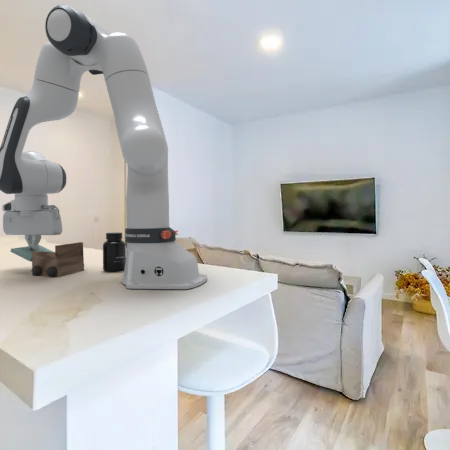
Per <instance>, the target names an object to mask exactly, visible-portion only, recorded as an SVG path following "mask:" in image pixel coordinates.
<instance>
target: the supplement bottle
mask: <svg viewBox="0 0 450 450" xmlns="http://www.w3.org/2000/svg"><path fill="white" fill-rule="evenodd" d="M105 239H106V241H104V242H103V243H102V270H103V272H105V273H121V272H124V269H125V261H126V249H127V248H126V244H125V240H122V239H123V232H106V233H105Z"/></svg>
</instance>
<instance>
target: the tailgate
mask: <svg viewBox="0 0 450 450" xmlns="http://www.w3.org/2000/svg"><path fill="white" fill-rule="evenodd" d="M34 251H38V252H54V251H53V250H51V249H50V248H49V249H48V248H47V247H44V246H43V245H41V244H38V249H36V250H30V249H28V246H22V247H21V246H20V247H13V248H11V249H10V253H12V254H15V255H16V256H18V257H20V258H22V259H24V260H26V261H28V262H31V263H32V252H34Z"/></svg>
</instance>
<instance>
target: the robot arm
mask: <svg viewBox="0 0 450 450" xmlns="http://www.w3.org/2000/svg"><path fill="white" fill-rule="evenodd" d="M44 30H45V35H46V37H47V40H48V41H47V42H45V43H43V44H42V46H41V49H40V51H39V54H38V58H37V61H36V65H35V70H34V76H33V83H32V86H31V89H29V91H28V93H26V95H24V96H21V97H19V98H18V99H17V100H16V102H15V104H14V106H13V108H12V110H11V113H10V117H9V118H8V119H9V120H8V123H7V126H6V128H5V132H4V134H3V138H2V141H1V145H0V191H1V192H2V193H3V194H6V195H14V198H13V199H12V200H10V201H8V202H6V203H4V204H2V206H1V208H2V209H1V210H2V212H4V213H3V215H2V229H3V232H4V234H5V235H8V236H24V239H25V242H26V243H27V247H28V249H30V250H36V249H38V245H40V244H39V243H40V242H41V240H42V236H61V235H62V232H63V221H62V218H61V213H60V209H59V207H58V206H56V205H54V204H50V205H49V198H48V196H49V195H51V194H52V195H53V194H59V193H60V192H61V191H62V190H64V189H65V187H66V186H67V173H66V171H65V169H64V167H63V166H62V165H61V164H60V163H57V162H55V161H54V162H53V161H51V160H48V159H46V157H45V156H44V155H43V154H42V153H40V152H36V151H24V148H25V145H26V142H27V139H28V136H29V133H30V131H31V129H32V128H33V127H34V126H36V125H39V124H41V123H42V124H43V123H46V122H54V121H59V120H63V119H66V118H68V117H69V116H71V115H72V114H74V112H75V110H76V109H77V105H78V101H79V95H80V88H81V87H80V86H81V80H82V77H83V75H84V74H85V73H86V72H87V71H88V72H89V74H91V75H93V76H94V75H103V78H104V81H105V86H106V90H107V93H108V97H109V101H110V105H111V108H112V112H113V113H112V114H113V117H114V122H115V127H116V128H115V129H116V133H117V136H118V141H119V145H120V149H121V153H122V158H123V160H124V161H125V163H126V164H127V165H126V167H127V170H126V171H127V176H126V194H125V195H126V196H125V208H126V209H125V213H126V215H125V216H126V219H125V220H126V221H125V222H126V228H125V229H124V242H125V244H126V261H125V269H124V271H123V273H122V278H121V281H120V282H121V284H122V285H125V287H126V289H135V290H138V289H139V290H144V289H145V290H146V289H147V290H189V289H194V288H196V287H199V286H201V285H203V284H204V283H206V281H207V280H208V276H207V274H205V273H200V271H199V264H198V259H197V258H196V256H195V255H194V254H192V253H191V252H190V251H189V250H187V249H186V248H185V247H183V246H182V244H180V243H179V242H178V241H176V236H178V235H179V231H178V230H174V229H173V228H172V227H170V207H169V206H170V201H169V199H170V198H169V197H170V195H169V194H170V193H169V159H168V158H169V147H168V143H167V137H166V136H165V131H164V127H163V125H162V121H161V118H160V114H159V110H158V107H157V104H156V99H155V96H154V92H153V88H152V83H151V80H150V76H149V71H148V69H147V66H146V62H145V60H144V57H143V54H142V52H141V50H140V47H139V45H138V43H137V41H136V40H135V39H134V37H132V36H131V35H129V34H127V33H124V32H121V31H120V32H119V31H118V32H110V31H109V30H108V29H106V27H104V26H102V25H101V24H100V23H99V22H98V21H97V20H95V19H94V18H91V17H90V16H88V15H86V14H85V13H83V12H82V11H81V10H80V9H78V8H75V7H73V6H70V5H66V4H58V5H56V6H54V7H53V8H52V9H50V11H49V12H48V13H47V16H46V19H45V26H44Z"/></svg>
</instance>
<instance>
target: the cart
mask: <svg viewBox="0 0 450 450" xmlns="http://www.w3.org/2000/svg"><path fill="white" fill-rule="evenodd" d="M84 258H85V257H84V242H83V241H79V242H73V243H65V244H57V245H54V251H53V252H38V251H34V252H32V261H31V274H32V276H34V277H50V278H60V277H64V276H68V275H71V274H76V273H80V272H83V271H84V270H85V262H84V261H85V260H84Z"/></svg>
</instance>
